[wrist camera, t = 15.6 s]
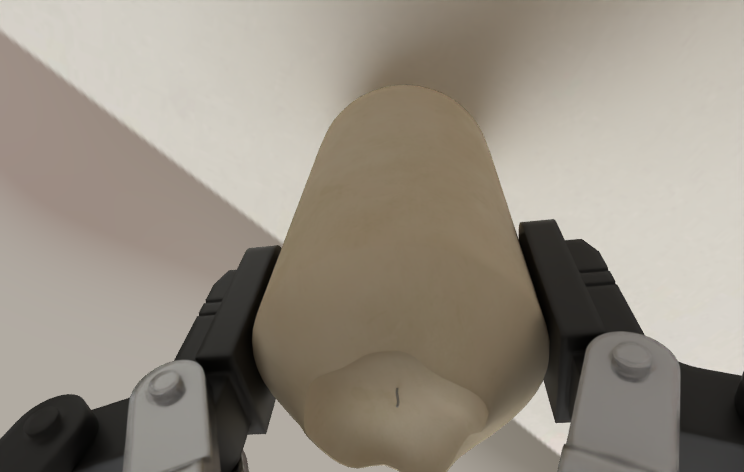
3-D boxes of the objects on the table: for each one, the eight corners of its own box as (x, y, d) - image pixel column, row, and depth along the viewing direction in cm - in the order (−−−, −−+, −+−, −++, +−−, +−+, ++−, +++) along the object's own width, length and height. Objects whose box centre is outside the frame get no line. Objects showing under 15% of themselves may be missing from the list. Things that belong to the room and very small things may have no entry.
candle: (458, 52, 14) (525, 254, 6) (507, 207, 17) (600, 495, 9) (291, 120, 16) (157, 358, 7) (360, 253, 18) (319, 537, 10)
